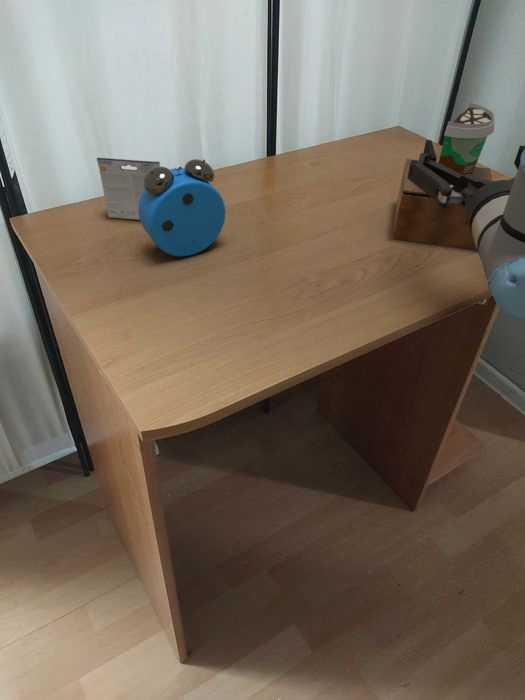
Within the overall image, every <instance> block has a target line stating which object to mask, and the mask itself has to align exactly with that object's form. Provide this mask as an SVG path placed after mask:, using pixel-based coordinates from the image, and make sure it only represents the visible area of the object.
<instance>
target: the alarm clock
mask: <svg viewBox="0 0 525 700" xmlns="http://www.w3.org/2000/svg"><path fill="white" fill-rule="evenodd" d="M214 179H215V171H214V169H213V168H212V166H211V164H209V163H208V162H206V160H205V159H198V158H193V159H190V160H188V161H187V162H186V163H185V165H184V166H183V167H182V166H177V167H174V168H169V167H165V166H160V167H155V168H153V169H151V170H150V171H149V172H148V173H147V174H146V176H145V178H144V188H145V189H144V191H143V193H142V195H141V198H140V201H139V218H140V220H139V221H140V224H141V226H142V228H143V230H144V231H145V232H146V234H147V235H148V236H149V238H150V239H151V240H152V241H153V243H154V245H156V246H157V248H158V249H159V250H161V251H163V253H166V254H168V255H170V256H174V257H189V256H194V255H196V254H198V253H201V252H203V251H204V250H206V249H208V247H210V246H211V245H212V244H213V243H214V242H215V241H216V240H217V238H218V237H219V235H220V233H221V231H222V229H223V226H224V224H225V220H226V206H225V201H224V199H223V197H222V194H221V193H220V192H219V191H218V190H217V188H215V187H214V186H213V184H211V183H212V182H214Z"/></svg>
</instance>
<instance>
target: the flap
mask: <svg viewBox="0 0 525 700" xmlns="http://www.w3.org/2000/svg"><path fill="white" fill-rule="evenodd" d="M472 175H473V176H475V177H477V178H479V179H482V180H483V179H486V180H488V181H493V177H492V171H491V167H490V168H489V167H482V166H481V167H479V166H475V169H474V171H473V174H472ZM469 185H471V183H469V184H468V186H469Z"/></svg>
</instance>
